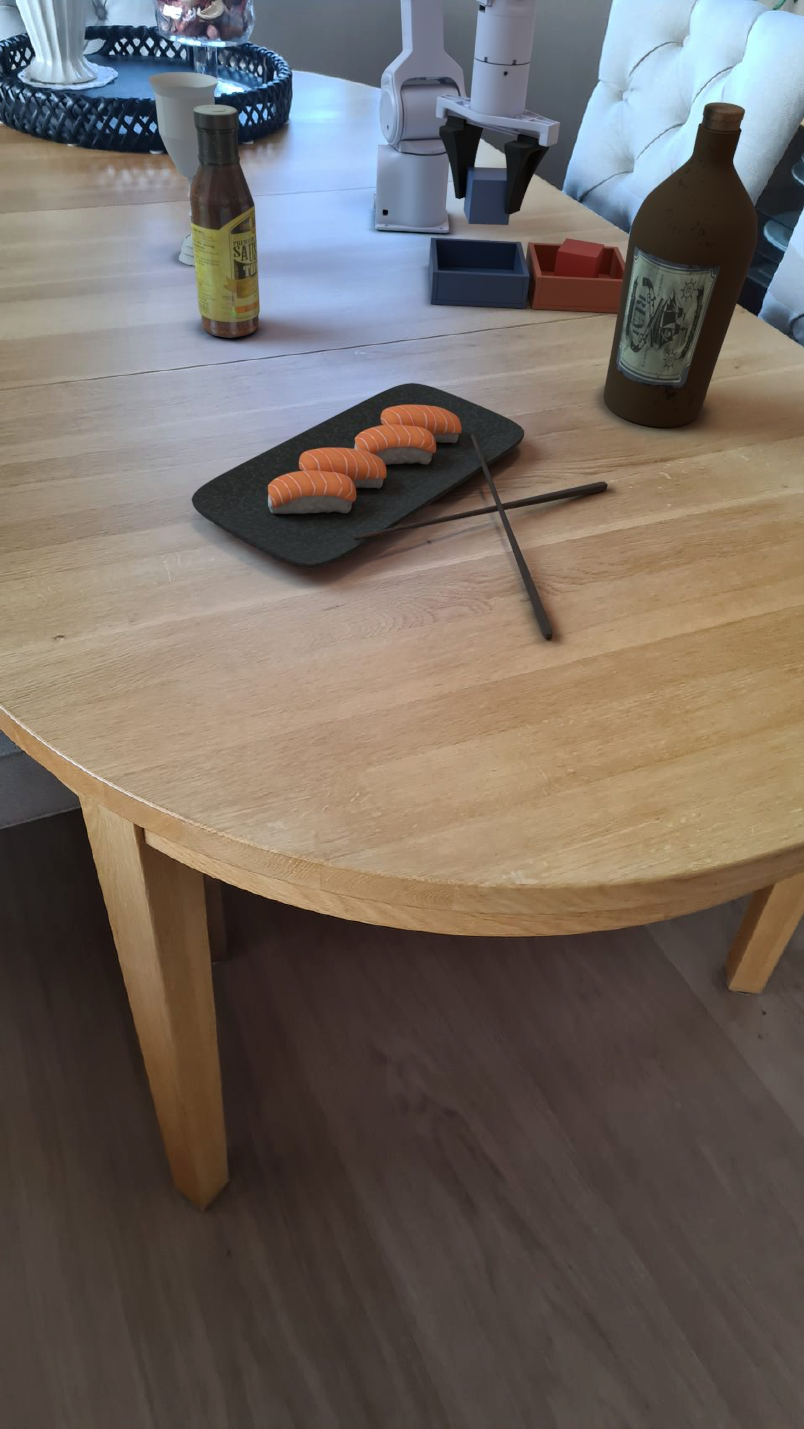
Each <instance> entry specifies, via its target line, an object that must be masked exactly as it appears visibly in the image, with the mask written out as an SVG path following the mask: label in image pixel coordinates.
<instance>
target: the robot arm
mask: <svg viewBox="0 0 804 1429" xmlns="http://www.w3.org/2000/svg"><path fill="white" fill-rule="evenodd" d="M475 1H476V2H478V8H477V20H476V32H475V41H474V42H475V43H474V55H473V66H472V77H471V78H472V79H471V90H470V97H467V94H466V88H465V75H464V70H463V68H462V67H461V66H460V65H459V64H458V63H457V62H456V61H455V60H454V59H453V58H452V57H451V56H450V55H449V54H448V53H447V52H446V51H445V44H444V43H445V42H444V40H445V39H444V36H445V35H444V1H443V0H400V15H401V16H400V17H401V19H400V20H401V40H402V42H401V43H402V51H401V52H400V53H399V55H398V56H396V57H395V59H394V60H393V61H392V62H391V63H390V64H388V66H386V68H385V69H384V71H383V73H382V74H381V79H380V99H379V108H378V116H379V117H378V118H379V126H380V130H381V134H382V136H383V139H385V140H386V142H387V143H388V144H378V145H377V148H376V149H377V151H376V153H377V154H376V177H375V178H376V179H375V180H376V181H375V182H376V184H375V193H373V197H372V199H373V200H372V209H373V210H375V216H374V217H375V221H374V222H375V223H374V224H375V225H374V228H375V230H379V231H397V232H417V233H418V232H419V233H435V234H437V233H438V234H448V233H449V232H450V224H449V214H448V210H447V201H448V200H447V199H448V198H447V197H448V186H449V172H451V177H452V183H453V191H454V197H455V199H458V200H462V199H465V190H466V177H467V167H476V159H477V155H478V150H479V145H480V142H481V138H482V134H483V131H484V129H487V130H491V131H494V132H495V131H496V132H498V133H502V134H506V135H510V136H513V137H516V139H515V140H511V141H508V142H505V143H504V145H503V149H504V150H503V151H504V156H505V168H506V171H507V181H506V192H505V201H504V212H505V214H508V215H513V214H516V213H518V212H520V211H521V208H522V206H523V205H522V204H523V202H524V199H525V196H526V193H527V191H528V188H529V185H530V183H531V181H532V179H533V177H534V175H535V173H536V170H538V169H537V168H538V167H539V165H540V163H541V162H542V160H543V159H544V157H545V155H546V154H547V153H548V151H549V149H550V146H553V145H556V144H558V140H559V132H560V125H561V122H560V121H556V120H553V119H551V118H547V117H545V116H543V115H540V114H538V113H536V112H533V111H531V110H528V109H527V108H526V101H527V94H528V93H527V92H528V85H529V84H528V83H529V76H530V67H531V60H532V52H533V42H534V33H535V26H536V17H537V9H538V1H539V0H475ZM415 81H417V82H419V81H435V82H438V83H417V84H416V83H415V84H404V83H405V82H415Z"/></svg>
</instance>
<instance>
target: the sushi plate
mask: <svg viewBox="0 0 804 1429" xmlns="http://www.w3.org/2000/svg"><path fill="white" fill-rule="evenodd" d="M524 437H525V430H524V429H523V427H522V426H521V425H520V424H518V423H517V422H515V421H514V420H512V419H511V418H508V417H506V416H504V415H502V414H500V413H498V412H496V411H493V410H491V409H488V408H486V407H483V406H482V405H480V404H477V403H474V402H472V401H470V400H468V399H465V398H462V397H460V396H458V395H455V394H453V393H450V392H447V391H445V390H442V389H439V388H437V387H434V386H431V385H427V384H424V383H423V384H422V383H416V382H409V383H401V384H399V385H395V386H393V387H390V388H387V389H386V390H382V391H381V392H378V393H377V394H375V395H373V396H371V397H368V398H367V399H365V400H362V401H360V402H359V403H356V404H355V405H353V406H351V407H349V408H348V409H345V410H343V411H341V412H340V413H338V414H335V415H333V416H332V417H329V418H327V419H326V420H324V421H322V422H320V423H318V424H316V425H314V426H312V427H310V428H307V429H306V430H304V431H303V432H300V433H299V434H297V435H295V436H292V437H291V438H289V439H287V440H285V441H283V442H281V443H279V444H277V445H275V446H273V447H272V448H270V449H268V450H265V451H264V452H262V453H260V454H257V455H256V456H254V457H252V458H250V459H248V460H246V461H244V462H242V463H241V464H239V465H235V467H233V468H231V469H228V470H227V471H225V472H223V473H221V474H220V475H218V476H216V477H214V478H213V479H211V480H209V481H208V482H206V483H205V484H203V485H201V486H200V487H199V488H198V489H197V490H195V492H193V494H192V497H191V503H192V506H193V507H194V509H195V510H196V512H198V513H199V514H200V516H202V517H204V518H205V519H206V520H207V521H209V522H210V523H211V524H213V525H215V526H217V527H219V528H220V529H221V530H223V531H225V532H226V533H229V534H230V535H232V536H234V537H236V538H237V539H239V540H241V541H243V542H245V543H246V544H249V545H250V546H251V547H253V548H255V549H257V550H259V551H261V552H263V553H265V554H267V555H268V556H271V557H272V558H274V559H276V560H279V561H281V562H283V563H284V564H288V565H290V566H294V567H298V568H301V569H309V570H313V569H321V568H324V567H328V566H331V565H333V564H336V563H338V562H339V561H341V560H343V559H345V558H347V557H349V556H350V555H352V554H354V553H356V552H357V551H359V550H361V549H362V548H364V547H365V546H368V544H370V543H371V542H374V541H375V540H376V539H378V538H379V537H381V536H385V535H389V534H394V533H399V532H403V531H409V530H414V529H417V528H418V529H419V528H422V527H423V528H424V527H428V526H432V525H437V524H442V523H447V522H452V521H457V520H463V519H467V518H472V517H476V516H482V515H486V514H487V515H488V514H492V513H497V512H498V514H499V517H500V519H501V522H502V526H503V528H504V530H505V533H506V536H507V539H508V541H509V544H510V547H511V550H512V553H513V556H514V559H515V562H516V564H517V565H516V566H517V567H518V570H519V574H520V576H521V578H522V582H523V584H524V588H525V590H526V592H527V595H528V598H529V601H530V604H531V606H532V609H533V611H534V615H535V617H536V619H537V622H538V625H539V628H540V631H541V633H542V636H543V637H544V638H545V640H546V639H552V637H553V634H554V632H553V627H552V626H551V623H550V622H551V621H550V620H549V617H548V615H547V612H546V609H545V607H544V605H543V602H542V600H541V597H540V595H539V592H538V590H537V588H536V585H535V582H534V580H533V577H532V575H531V573H530V570H529V567H528V565H527V563H526V560H525V558H524V555H523V552H522V551H521V548H520V546H519V543H518V541H517V539H516V536H515V533H514V531H513V529H512V526H511V524H510V521H509V519H508V516H507V514H506V511H507V510H514V509H519V508H524V507H529V506H535V505H540V504H545V503H549V502H555V501H560V500H566V499H570V498H575V497H580V496H585V495H590V494H594V493H599V492H604V491H606V490H607V489H608V486H609V484H608V483H607V482H605V481H598V482H591V483H588V484H583V485H580V486H574V487H570V488H566V489H561V490H557V491H552V492H548V493H542V494H538V495H535V496H529V497H526V498H521V499H517V500H512V501H508V502H503V503H502V501H501V499H500V496H499V494H498V491H497V488H496V486H495V483H494V481H493V479H492V475H491V474H490V470H489V466H491V465H493V464H494V463H495V462H497V461H499V460H500V459H502V458H503V457H504V456H506V455H507V454H508V453H510V452H512V451H513V450H514V449H515V448H517V446H519V445H520V444H521V442H522V441H523V440H524ZM481 471H483V473H484V476H485V479H486V481H487V484H488V487H489V490H490V493H491V495H492V497H493V500H494V502H495V505H491V506H486V507H482V508H477V509H474V510H473V509H472V510H469V511H464V512H460V513H454V514H450V515H446V516H445V515H444V516H442V517H436V518H432V519H426V520H422V521H417V522H414V523H412V522H411V523H408V524H404V525H403V524H402V525H400V524H401V523H403V522H405V521H406V520H408V519H409V518H410V517H412V516H414V515H415V514H416V513H419V512H420V511H422V510H423V509H424V508H426V507H427V506H430V505H431V504H432V503H433V502H435V501H437V500H438V499H440V498H441V497H443V496H445V495H446V494H448V493H449V492H451V491H452V490H454V489H455V488H457V487H458V486H460V485H462V484H464V483H465V482H466V481H468V480H469V479H471V478H472V477H475V475H477V474H478V473H481ZM398 525H399V526H398Z"/></svg>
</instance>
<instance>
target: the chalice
mask: <svg viewBox="0 0 804 1429" xmlns="http://www.w3.org/2000/svg"><path fill="white" fill-rule="evenodd" d="M147 81H148V82H149V84H150V86H151V88H152V90H153V92H154V99H155V108H156V109H155V110H156V118H157V125H158V133H159V136H160V138H161V140H162V142H163V145H164V147H165V149H166V152H167V154H168V155H169V158H170V159H171V161H172V164H174V166H175V169H176V170H177V172H178V174H179V175H181V176H183V177H185V178H187V182H188V193H187V195H186V196H187V198H188V200H189V201H190V187H191V184H192V180H193V177H194V175H196V173H197V170H198V167H199V165H200V162H199V159H198V154H199V151H198V140H197V129H196V128H195V124H194V114H193V109H194V108H195V107H198V106H202V105H216V101H215V91H216V88H217V85H218V82H219V80H218V78H216V77H215V76H212V75H209V74H205V73H198V72H189V71H188V72H187V71H172V72H162V73H161V72H160V73H155V74H153V75H151V76H149V77H148V78H147ZM187 215H188V216H189V217H190V218H191V217H192V214H191V209H190V210H189V212H188V214H187ZM178 260H179V262H181V263H183V264H185V265H188V266H193V267H195V262H194V251H193V240H192V231H190V234H188V235H186V236H185V238H183V240H182V246H181V248H180V253H179V256H178Z"/></svg>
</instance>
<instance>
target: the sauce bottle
mask: <svg viewBox="0 0 804 1429" xmlns="http://www.w3.org/2000/svg"><path fill="white" fill-rule="evenodd" d="M238 111H239V110H238V109H237V108H235V107H233V106H230V105H226V104H215V105H202V106H198V107H195V108H194V109H193V114H194V124H195V128H196V129H197V140H198V151H199V154H198V159H199V162H200V165H199V167H198V170H197V173H196V175H194V177H193V180H192V184H191V187H190V200H189V204H190V210H191V214H192V217H190V225H191V227H190V228H191V232H192V240H193V251H194V262H195V266H194V273H195V284H196V295H197V305H198V313H199V314H200V321H201V327H202V328H203V329H204V331H205V332H206V333H208V334H210V335H211V336H215V337H219V338H220V337H221V338H228V339H233V338H238V337H244V336H248V335H250V334H252V333H254V332H256V331H257V330H258V328H259V321H260V319H259V315H260V312H261V304H260V286H259V264H258V241H257V224H256V223H257V222H256V203H255V201H254V198H253V195H252V193H251V190H250V187H249V184H248V182H247V179H246V176H245V173H244V170H243V167H242V165H241V163H240V162H241V157H240V154H239V152H240V151H239V139H238V137H239V136H238V130H239V127H240V121H239V112H238Z"/></svg>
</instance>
